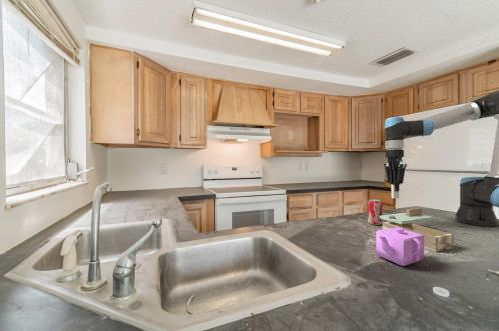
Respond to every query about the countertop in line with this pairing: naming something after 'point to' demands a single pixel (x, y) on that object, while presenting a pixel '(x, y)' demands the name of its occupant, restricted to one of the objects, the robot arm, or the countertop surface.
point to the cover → (407, 216)
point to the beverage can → (374, 212)
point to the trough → (426, 235)
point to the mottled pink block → (400, 246)
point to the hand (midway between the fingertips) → (395, 197)
